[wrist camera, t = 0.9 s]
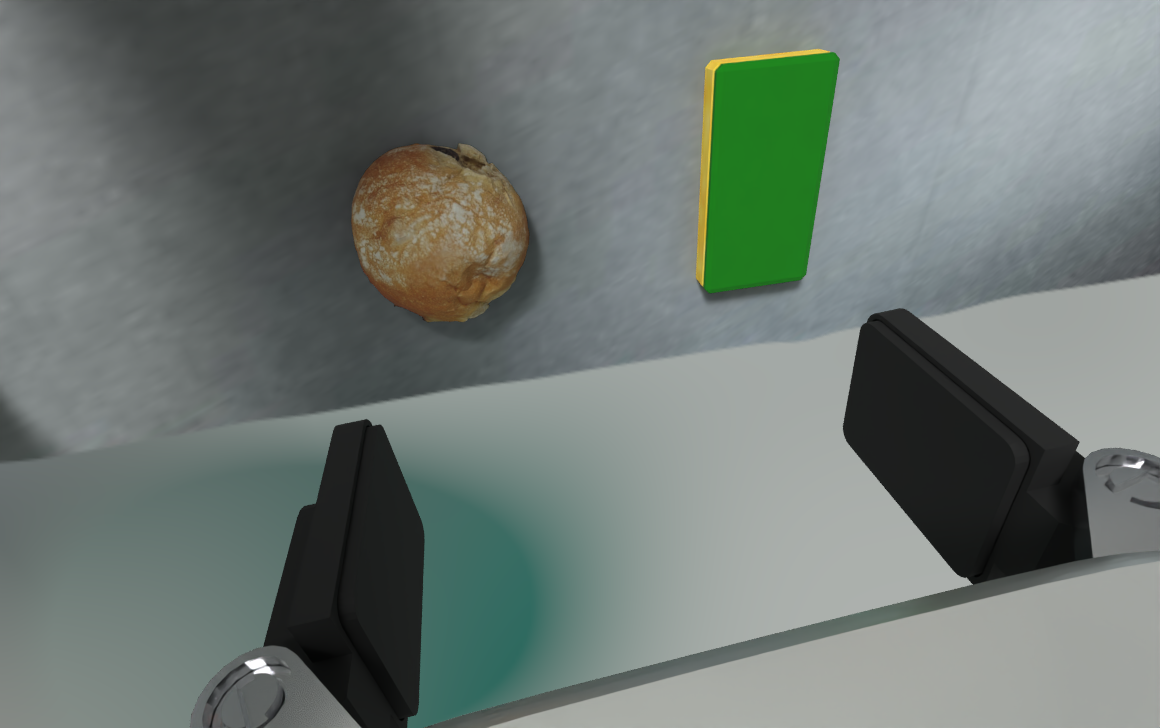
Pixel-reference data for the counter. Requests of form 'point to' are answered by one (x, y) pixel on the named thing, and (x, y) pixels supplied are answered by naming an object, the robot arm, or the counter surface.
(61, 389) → the counter surface
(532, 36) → the counter surface
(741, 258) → the dish sponge
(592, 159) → the counter surface
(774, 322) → the counter surface
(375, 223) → the bread roll
